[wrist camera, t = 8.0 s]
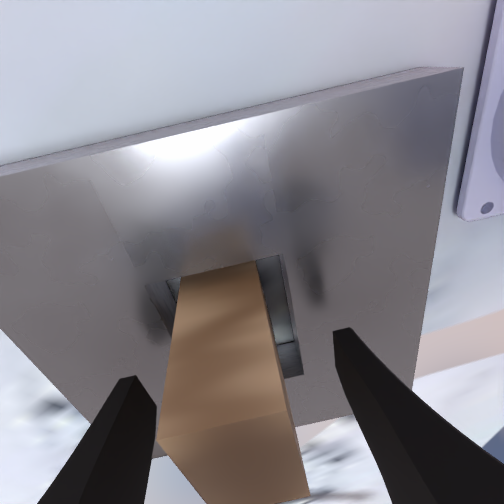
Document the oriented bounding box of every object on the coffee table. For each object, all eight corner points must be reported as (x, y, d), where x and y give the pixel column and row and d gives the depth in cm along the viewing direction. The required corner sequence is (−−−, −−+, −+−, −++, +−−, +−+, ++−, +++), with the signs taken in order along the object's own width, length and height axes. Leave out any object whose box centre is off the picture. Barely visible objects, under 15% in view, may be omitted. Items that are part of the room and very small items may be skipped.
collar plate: (419, 67, 10) (463, 67, 8) (391, 370, 18) (409, 401, 16) (-61, 180, 10) (-118, 204, 8) (136, 427, 18) (128, 463, 17)
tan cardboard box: (252, 248, 13) (286, 409, 7) (272, 328, 15) (310, 495, 9) (183, 264, 13) (156, 440, 7) (215, 342, 15) (217, 516, 9)
